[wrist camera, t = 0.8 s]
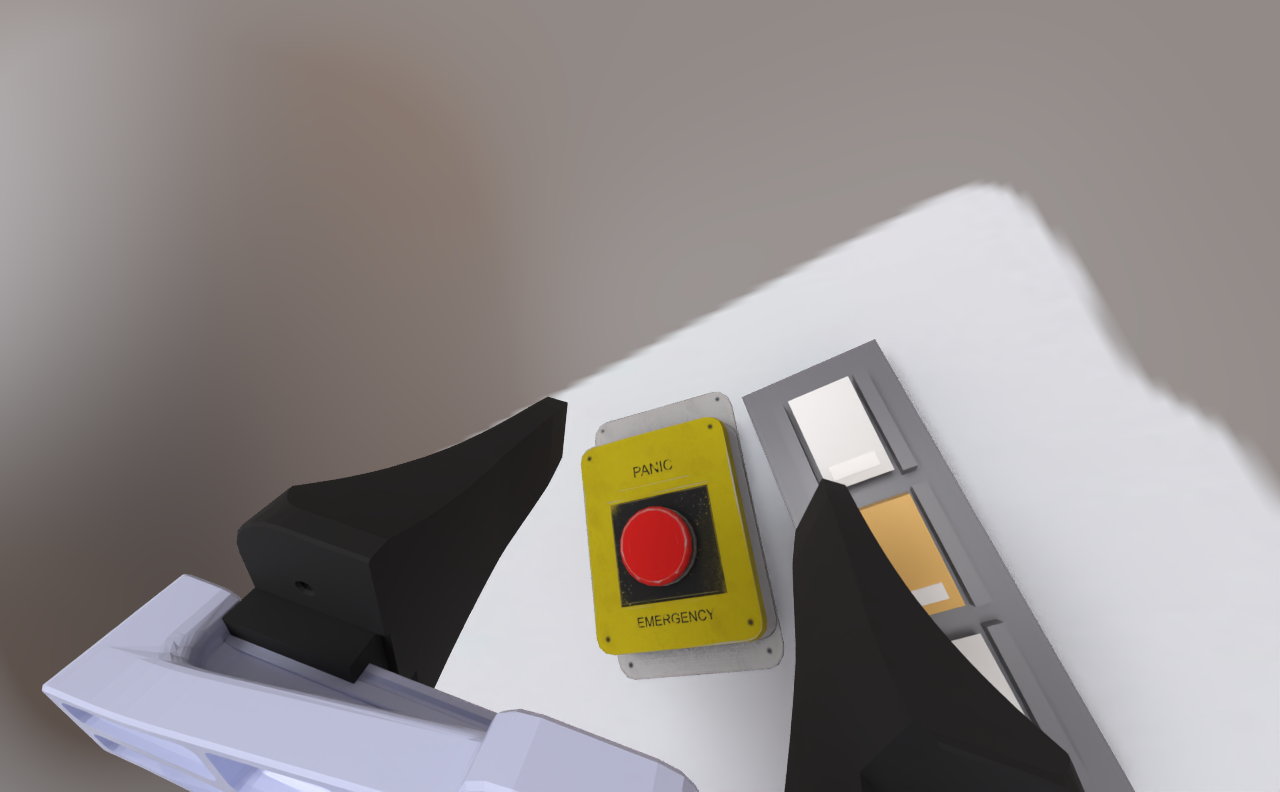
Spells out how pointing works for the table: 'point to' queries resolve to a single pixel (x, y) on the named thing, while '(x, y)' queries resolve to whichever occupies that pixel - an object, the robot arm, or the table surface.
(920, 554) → the rocker amber
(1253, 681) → the table surface
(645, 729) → the table surface
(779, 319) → the table surface
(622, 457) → the emergency button
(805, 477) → the switch strip
